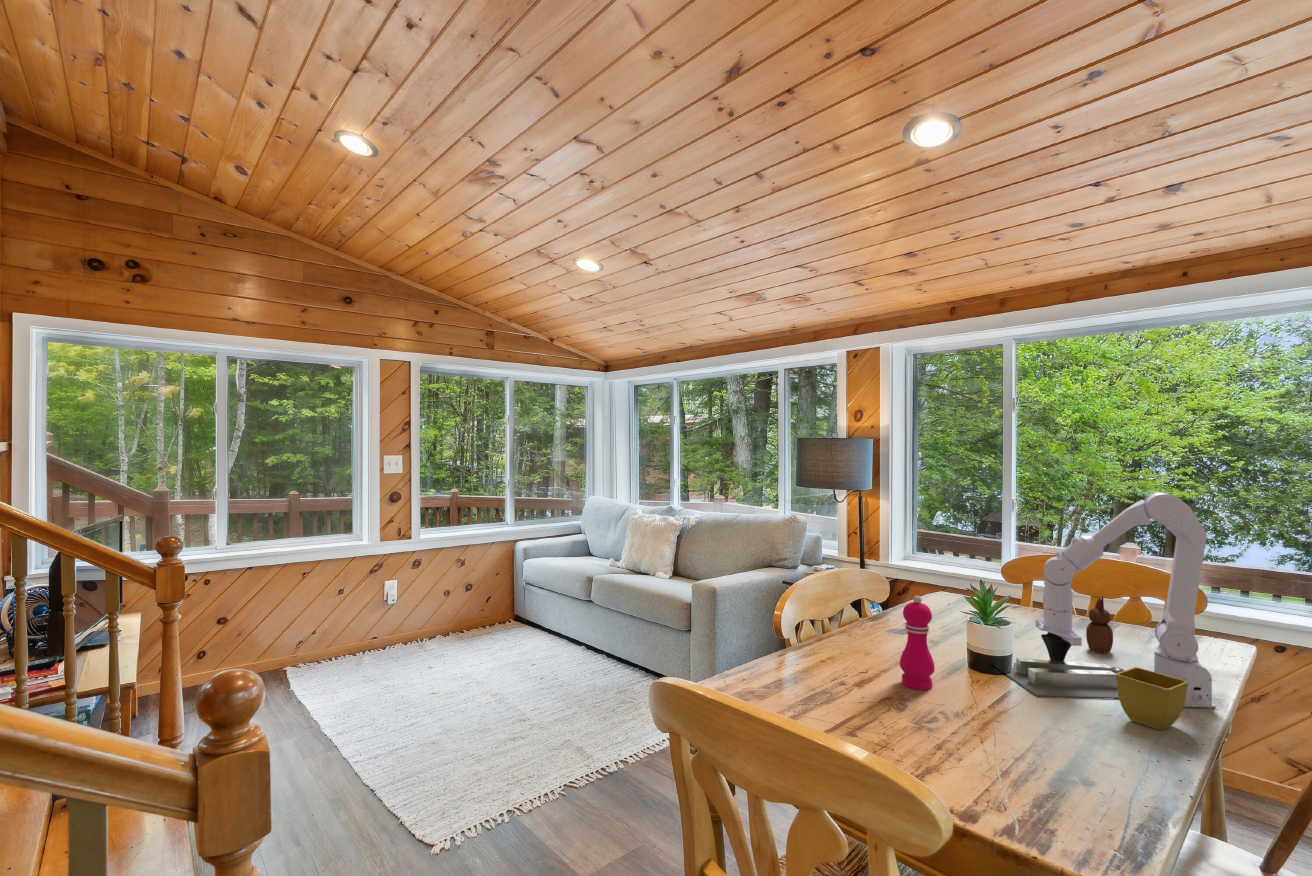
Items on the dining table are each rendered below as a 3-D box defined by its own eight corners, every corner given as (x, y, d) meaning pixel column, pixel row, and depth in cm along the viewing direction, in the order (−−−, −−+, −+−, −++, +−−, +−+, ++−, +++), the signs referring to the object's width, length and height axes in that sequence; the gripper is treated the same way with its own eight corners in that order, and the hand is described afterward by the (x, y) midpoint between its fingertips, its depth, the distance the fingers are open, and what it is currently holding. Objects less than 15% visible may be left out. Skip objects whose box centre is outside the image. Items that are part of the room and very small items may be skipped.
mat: (1166, 700, 130) (1166, 698, 130) (1036, 696, 131) (1036, 695, 131) (1101, 666, 150) (1101, 665, 150) (989, 663, 151) (989, 662, 151)
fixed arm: (1109, 683, 138) (1109, 670, 138) (1117, 688, 135) (1117, 674, 135) (1028, 681, 139) (1028, 668, 139) (1034, 686, 136) (1034, 672, 136)
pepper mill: (938, 692, 133) (938, 600, 133) (903, 689, 134) (903, 598, 134) (930, 680, 140) (930, 592, 140) (896, 677, 141) (897, 591, 141)
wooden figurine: (1113, 657, 157) (1113, 598, 157) (1085, 652, 160) (1085, 595, 161) (1113, 650, 162) (1113, 594, 163) (1086, 646, 166) (1086, 590, 166)
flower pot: (1189, 727, 117) (1189, 680, 117) (1169, 738, 113) (1169, 689, 113) (1135, 710, 125) (1135, 666, 125) (1114, 719, 120) (1114, 673, 121)
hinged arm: (1117, 678, 140) (1117, 665, 140) (1126, 685, 137) (1126, 671, 137) (1016, 670, 145) (1016, 657, 145) (1022, 676, 141) (1022, 663, 141)
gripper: (1023, 600, 151) (1022, 655, 151) (1059, 617, 137) (1058, 677, 137) (1052, 601, 151) (1051, 656, 151) (1091, 618, 137) (1090, 678, 136)
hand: (1057, 666), depth 144 cm, fingers closed
